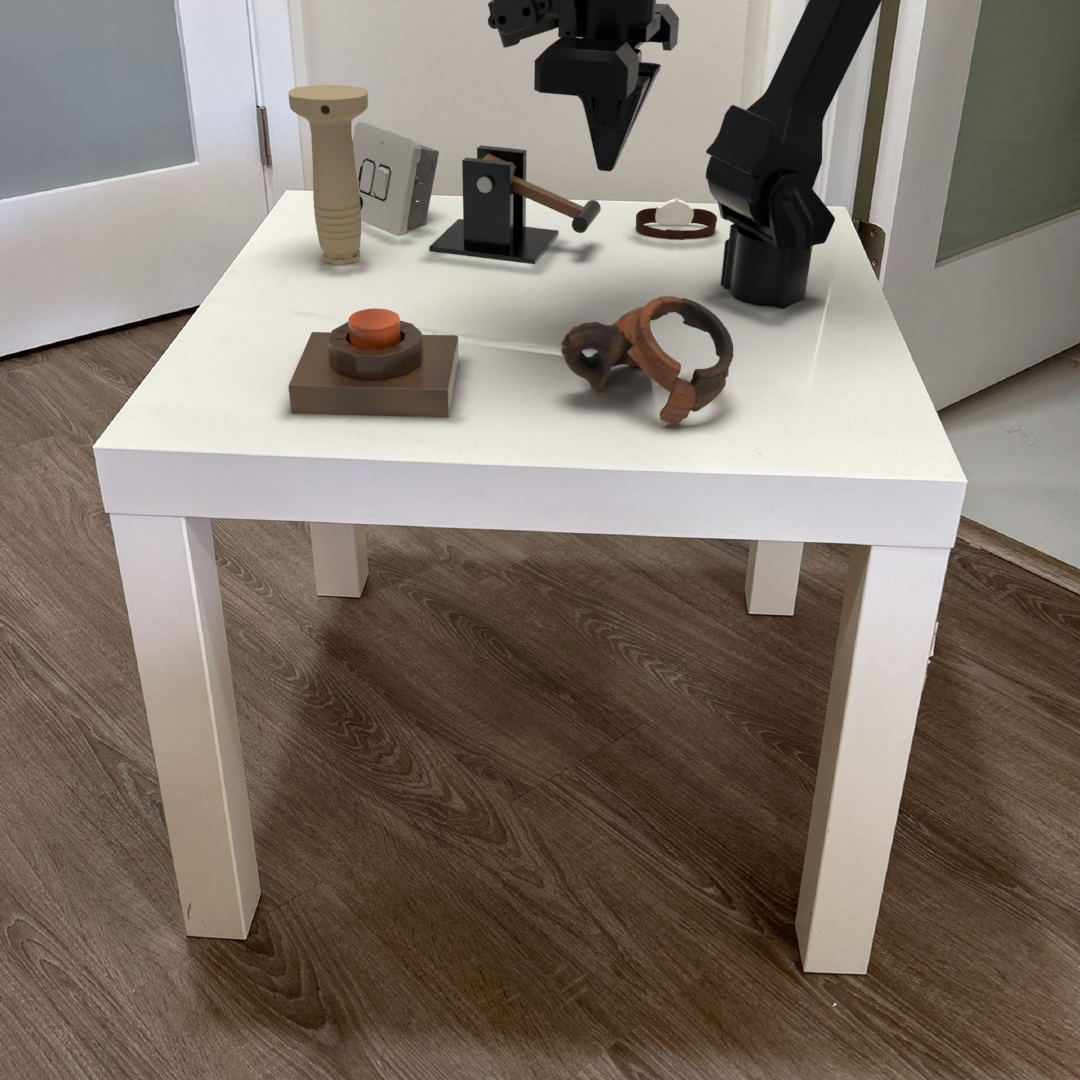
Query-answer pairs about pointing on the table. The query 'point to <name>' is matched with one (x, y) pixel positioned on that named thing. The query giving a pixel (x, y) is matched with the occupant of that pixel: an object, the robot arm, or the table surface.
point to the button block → (376, 375)
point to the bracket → (494, 212)
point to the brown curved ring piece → (652, 354)
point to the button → (374, 329)
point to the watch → (675, 220)
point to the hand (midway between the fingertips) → (605, 169)
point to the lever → (556, 201)
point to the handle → (333, 166)
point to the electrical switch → (392, 178)
